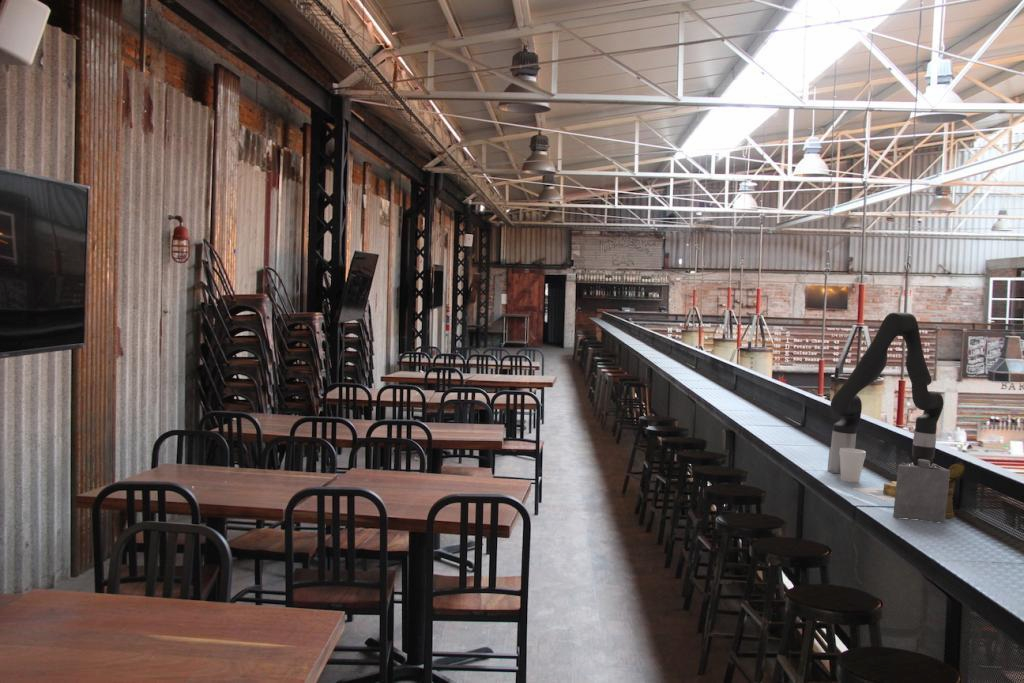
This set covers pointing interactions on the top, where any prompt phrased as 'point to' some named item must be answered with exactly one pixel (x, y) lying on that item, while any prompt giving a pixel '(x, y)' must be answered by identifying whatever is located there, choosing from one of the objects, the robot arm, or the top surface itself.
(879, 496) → the t board
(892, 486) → the t block
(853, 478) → the foam cup
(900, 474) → the hip flask
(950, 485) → the wooden mug
